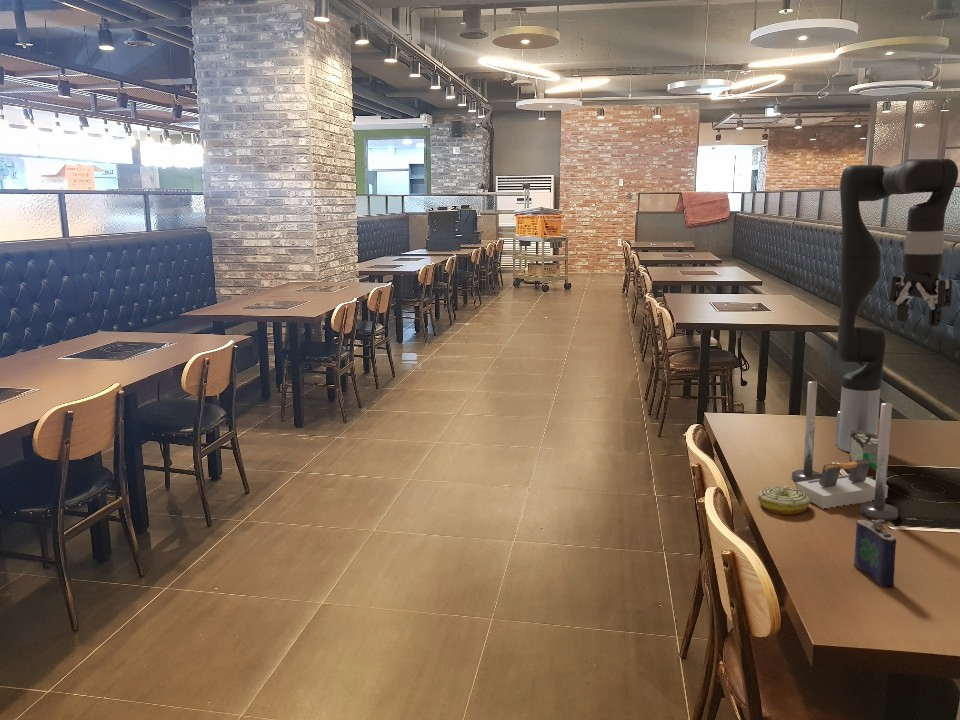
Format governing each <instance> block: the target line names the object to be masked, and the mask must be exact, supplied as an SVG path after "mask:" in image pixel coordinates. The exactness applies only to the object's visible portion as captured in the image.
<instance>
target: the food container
mask: <svg viewBox="0 0 960 720" xmlns="http://www.w3.org/2000/svg"><path fill="white" fill-rule="evenodd" d="M849 438H850V452H849V457H848V459H849V461H848V462H854V461H855V460H861V459H867V460H868V461H869V462H871V464H870V467H869V470H868V473H867V476H866V477H868V478H870V479H873V480H875V481H876V468H877V455H878V441H879V434H877V435H876V434H873V433H869V432H863V431H853V430H850V436H849ZM849 469H850V470H851V469H852V468H848V470H849ZM850 470H849V471H850Z"/></svg>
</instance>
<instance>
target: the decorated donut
mask: <svg viewBox="0 0 960 720" xmlns="http://www.w3.org/2000/svg"><path fill="white" fill-rule="evenodd" d="M757 494H758V496H757V500H758V502H759V504H760V506H761V507H762V508H763V509H764V510H765V511H768V512H771V513H773V514H777V515H783V516H794V515H799V513H800V514H803V513H804V512H806V511H807V509H808V508H809V505H810V504H811V502H810V499H809V497H808V496H807V495H806V494H805V493H803V492H802V491H799V490H797V489H796V488H794V487H791V486H786V485H780V486H779V485H778V486H769V487H765V488H763V489H761V490H760V491H759V492H758V493H757ZM802 512H803V513H802Z"/></svg>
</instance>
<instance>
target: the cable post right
mask: <svg viewBox="0 0 960 720" xmlns="http://www.w3.org/2000/svg"><path fill="white" fill-rule="evenodd" d="M892 411H893V403H891V402H881V403H880V414H879V415H880V416H879V430H878V435H879V441H878V455H877V468H876V482H875V496H874V501H870V502H864V503H860V506H859V507H860V508H859V510H860V511H859V513H860V515H861V516H862V517H864V518H866V519H868V520H879V521H880V519H881V520H884V522H885V523H887V522H894V521H896V520H897V519H898V516H899V515H898V512H899V510H898V508H897V507H895V506H893V505H891V504H887V503H886V499H885V494H886V485H887V480H888V479H887V477H888V466H889V464H888V463H889V450H890V437H891V424H892V423H891V422H892ZM881 522H882V523H884V522H883V521H881Z"/></svg>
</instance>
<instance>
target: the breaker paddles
mask: <svg viewBox="0 0 960 720" xmlns="http://www.w3.org/2000/svg"><path fill="white" fill-rule="evenodd" d="M870 464H871V462H869V461H868V460H867V459H861V460H855V461H854V462H849V461H848V462H842V463H828V464H824V465H823V468H822V471H821V478H820V481H819V484H820V485H821V486H822V487H823V488H825V487H831V486H836V483H837V479H838V476H840V472H841V470H849V468H852V469H851V472H850V471H849V474H850V475H849V480H850V481H852V482H853V483H856V482H863V481H865V480H866V476H867V473H868V470H869V467H870Z"/></svg>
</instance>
